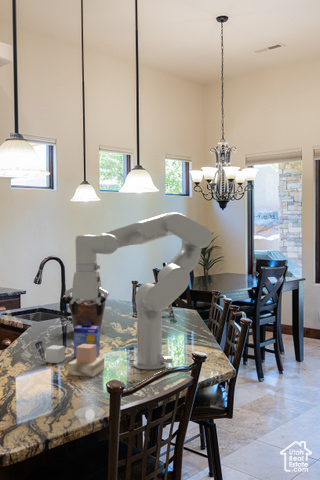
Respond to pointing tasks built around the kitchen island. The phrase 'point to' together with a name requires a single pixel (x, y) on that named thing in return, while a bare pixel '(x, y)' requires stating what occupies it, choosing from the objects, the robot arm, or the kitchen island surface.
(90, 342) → the ink cartridge box
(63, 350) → the pale grey cube
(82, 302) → the brown tapered pot
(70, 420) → the kitchen island surface
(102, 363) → the maple base block
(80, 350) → the terracotta cube
